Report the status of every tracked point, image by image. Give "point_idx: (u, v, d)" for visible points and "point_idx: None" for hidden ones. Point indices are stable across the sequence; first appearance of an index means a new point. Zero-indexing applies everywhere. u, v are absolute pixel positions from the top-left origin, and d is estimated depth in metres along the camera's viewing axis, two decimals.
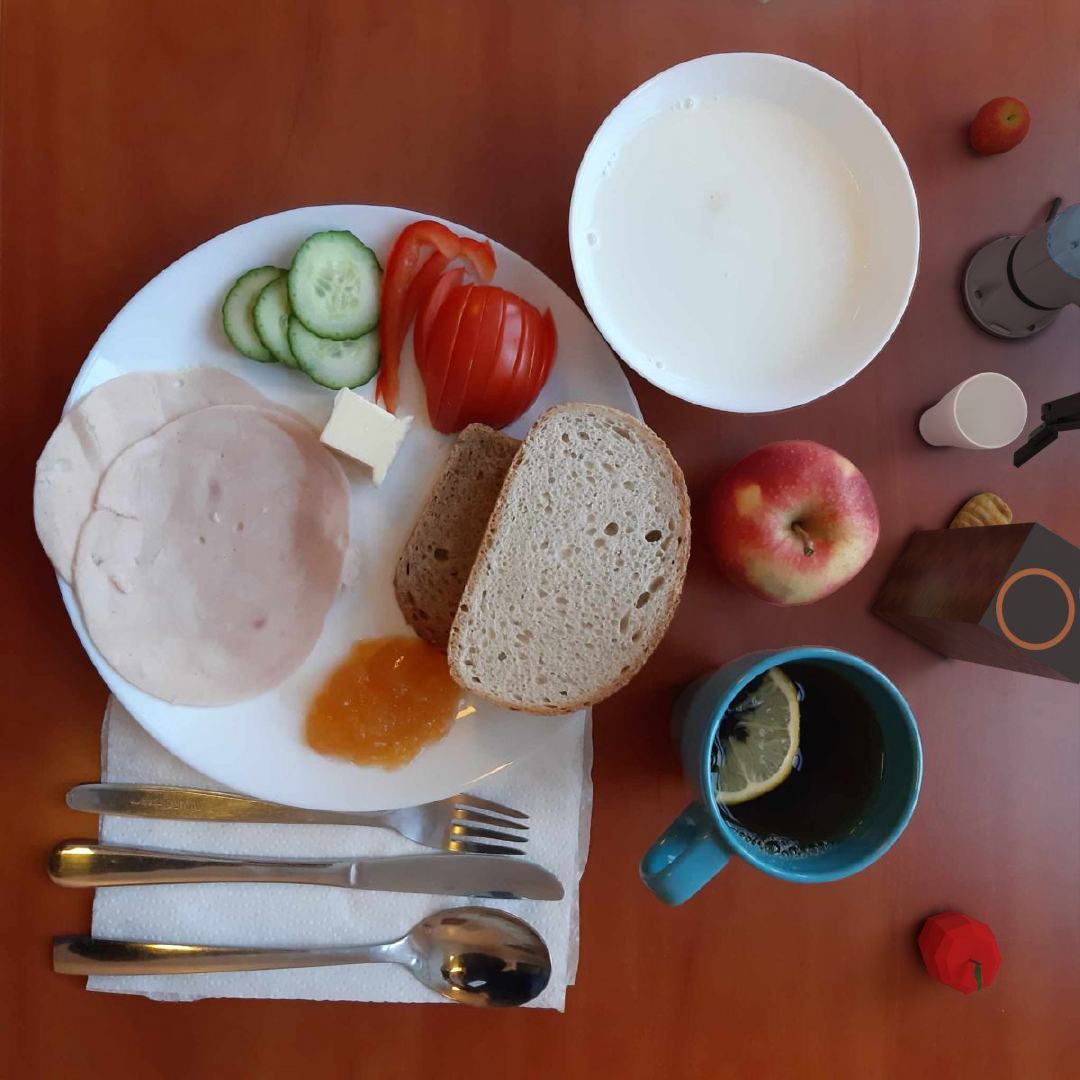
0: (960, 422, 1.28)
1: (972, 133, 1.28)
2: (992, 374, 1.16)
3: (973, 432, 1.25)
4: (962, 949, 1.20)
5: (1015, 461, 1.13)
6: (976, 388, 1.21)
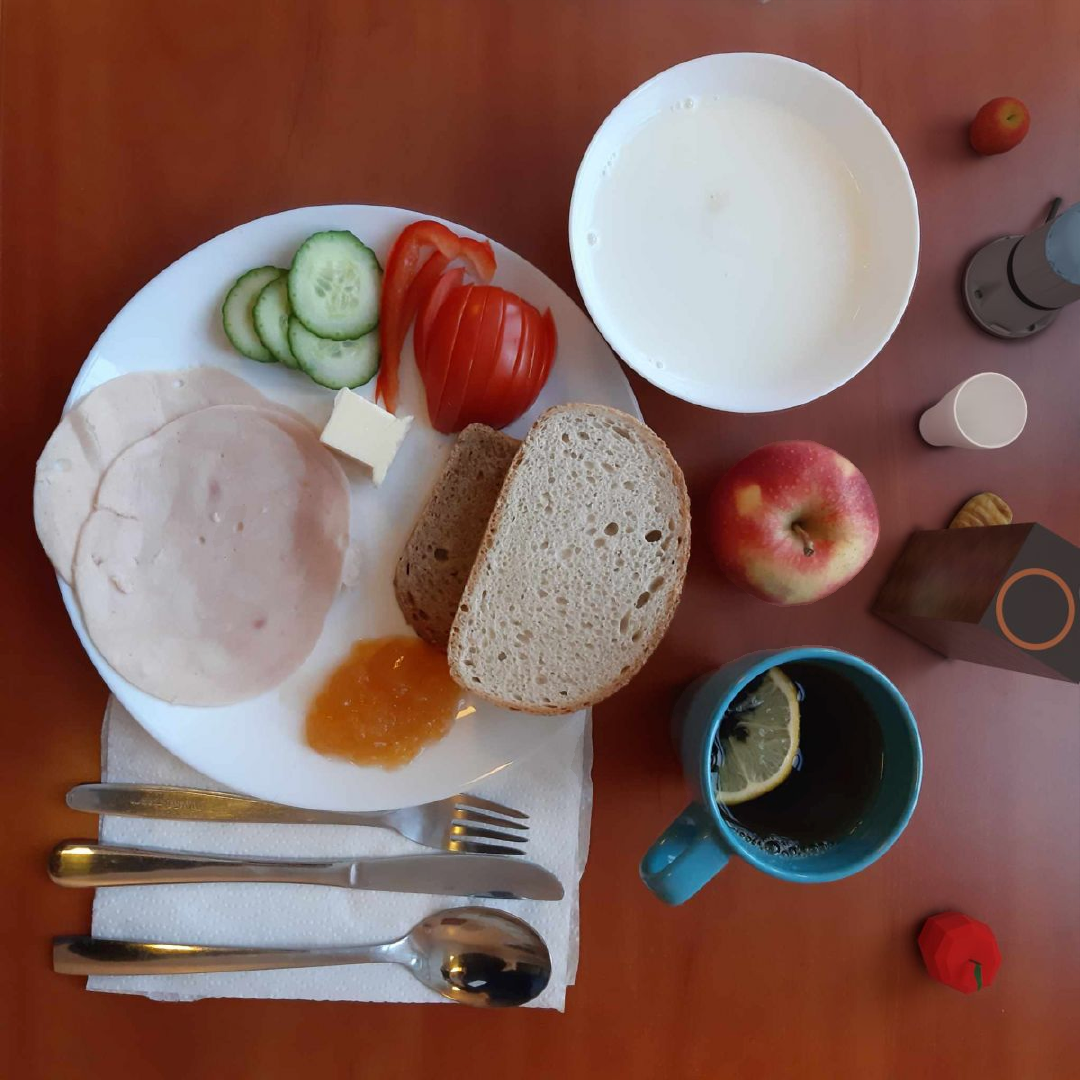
0: (960, 422, 1.28)
1: (972, 133, 1.28)
2: (992, 374, 1.16)
3: (973, 432, 1.25)
4: (962, 949, 1.20)
5: None
6: (976, 388, 1.21)
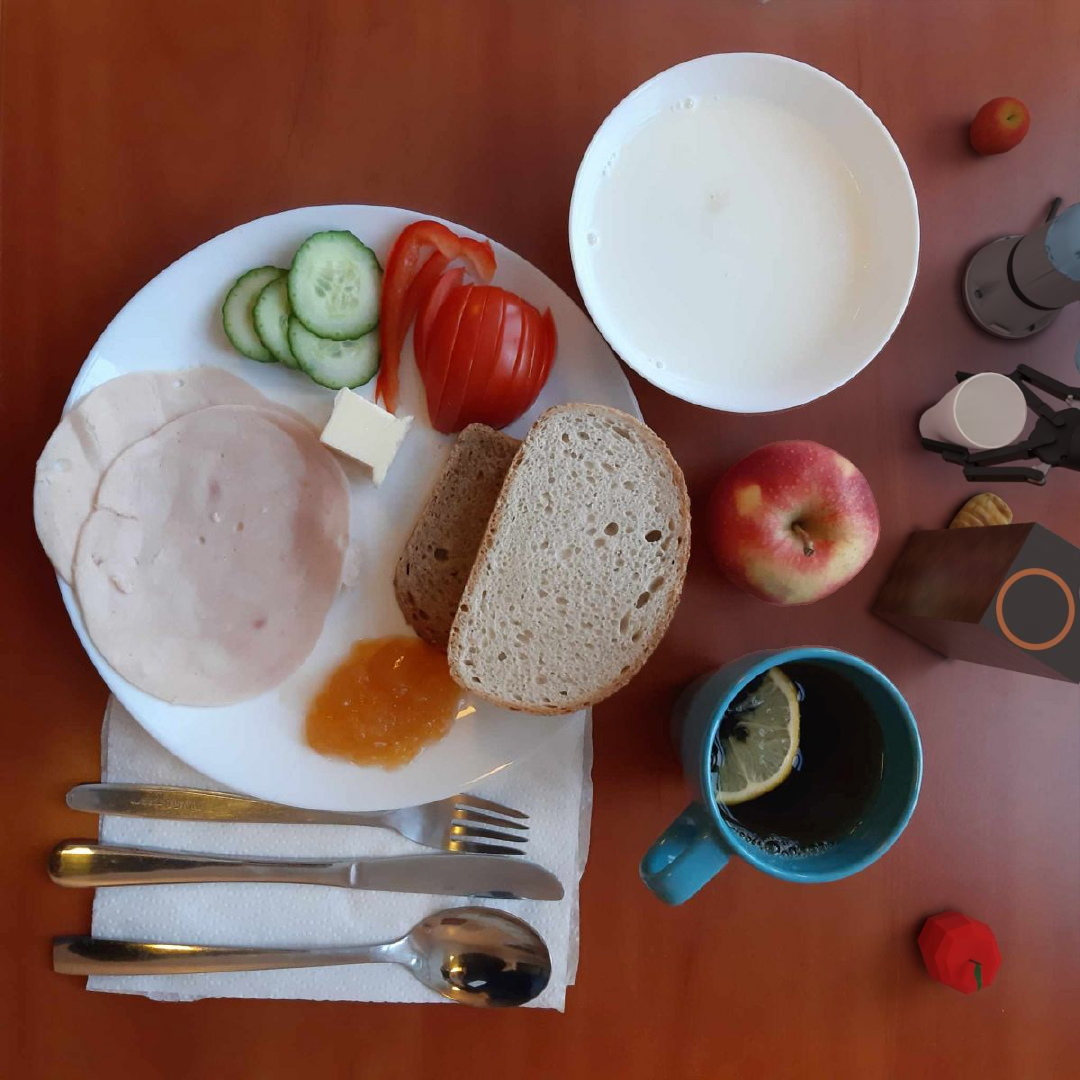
0: (960, 422, 1.28)
1: (972, 133, 1.28)
2: (992, 374, 1.16)
3: (973, 432, 1.25)
4: (962, 949, 1.20)
5: (926, 449, 1.24)
6: (976, 388, 1.21)
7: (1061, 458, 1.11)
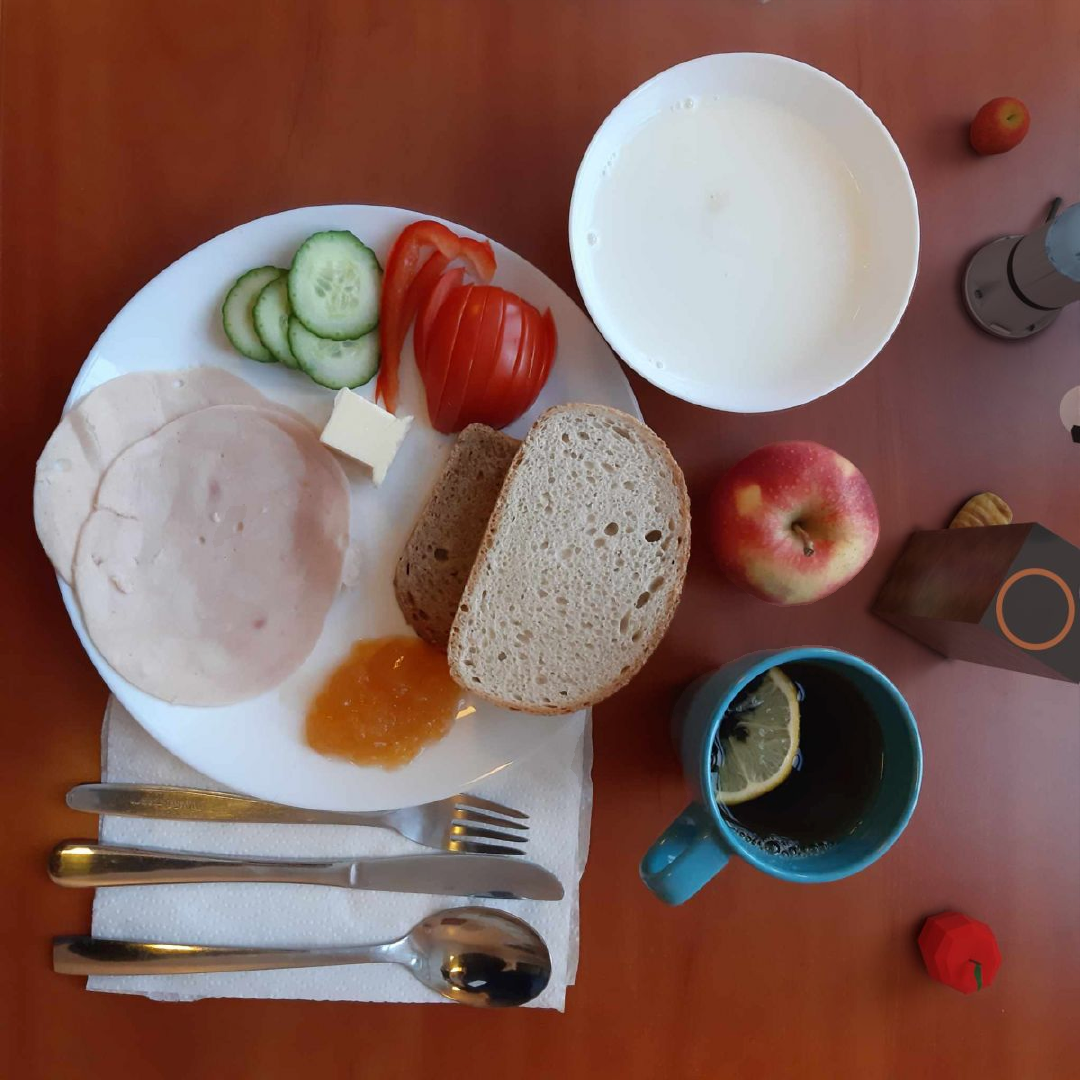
0: None
1: (972, 133, 1.28)
2: None
3: None
4: (962, 949, 1.20)
5: (1076, 441, 0.93)
6: None
7: None
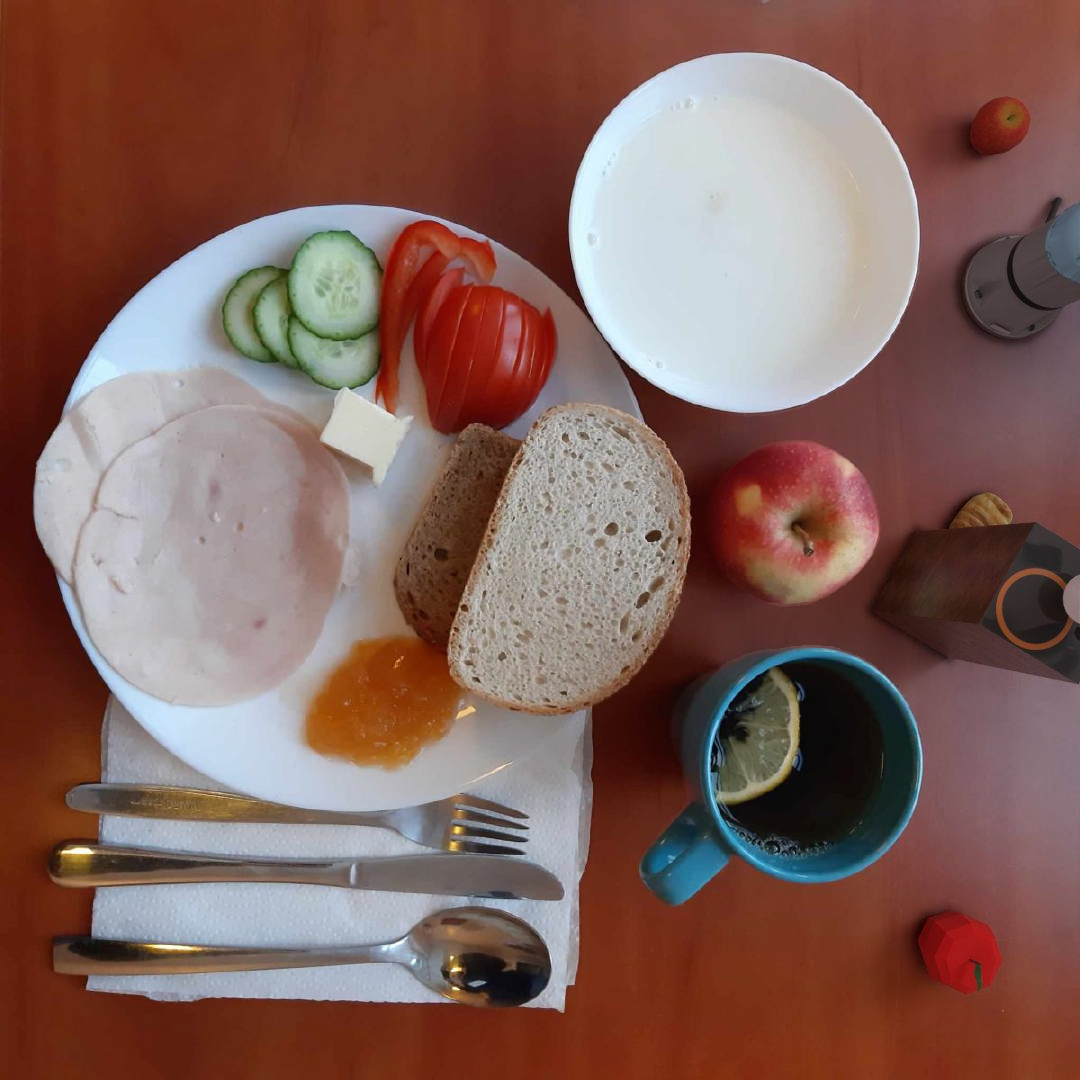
0: None
1: (972, 133, 1.28)
2: None
3: None
4: (962, 949, 1.20)
5: (1079, 639, 0.93)
6: None
7: None
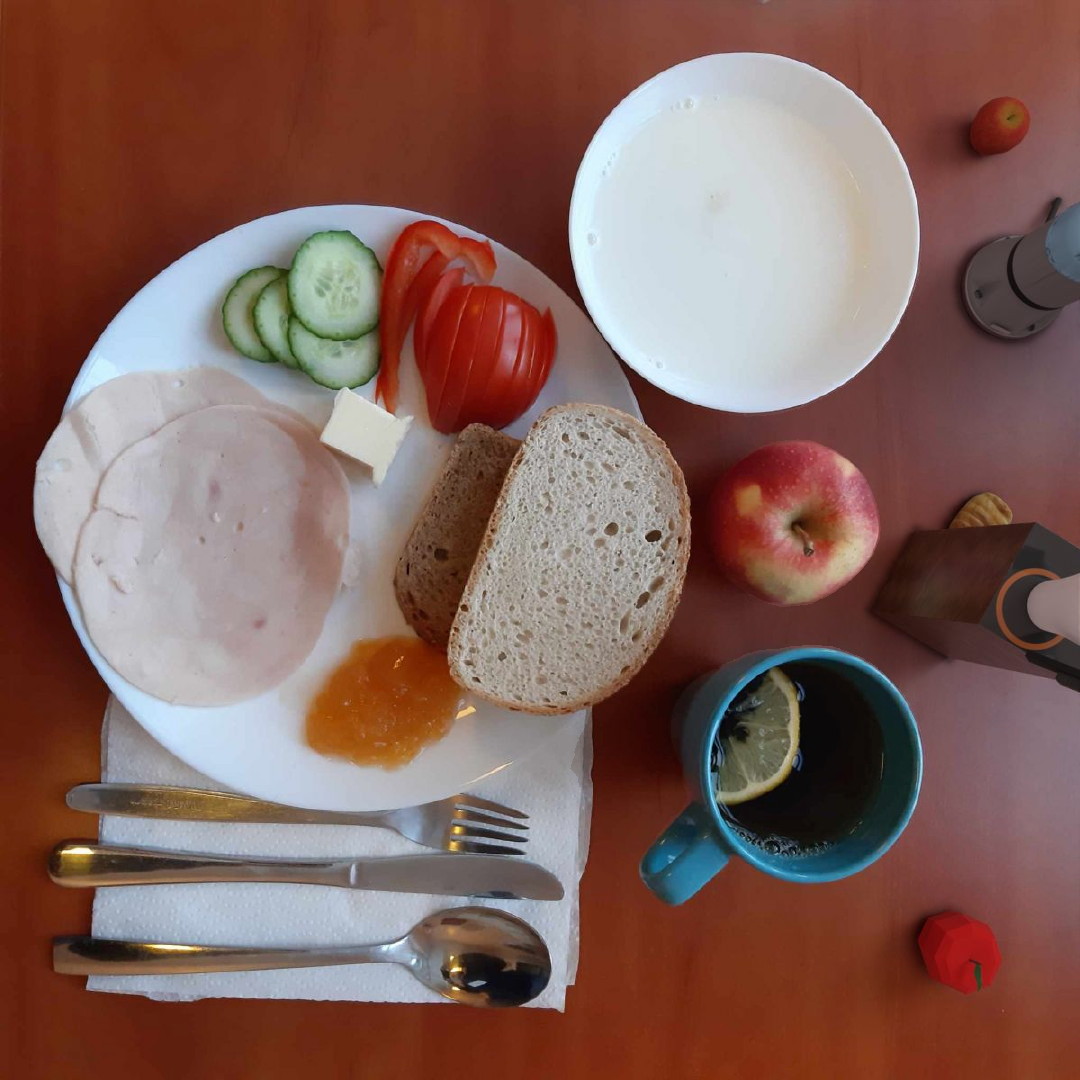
0: None
1: (972, 133, 1.28)
2: None
3: None
4: (962, 949, 1.20)
5: (1031, 662, 0.94)
6: None
7: None
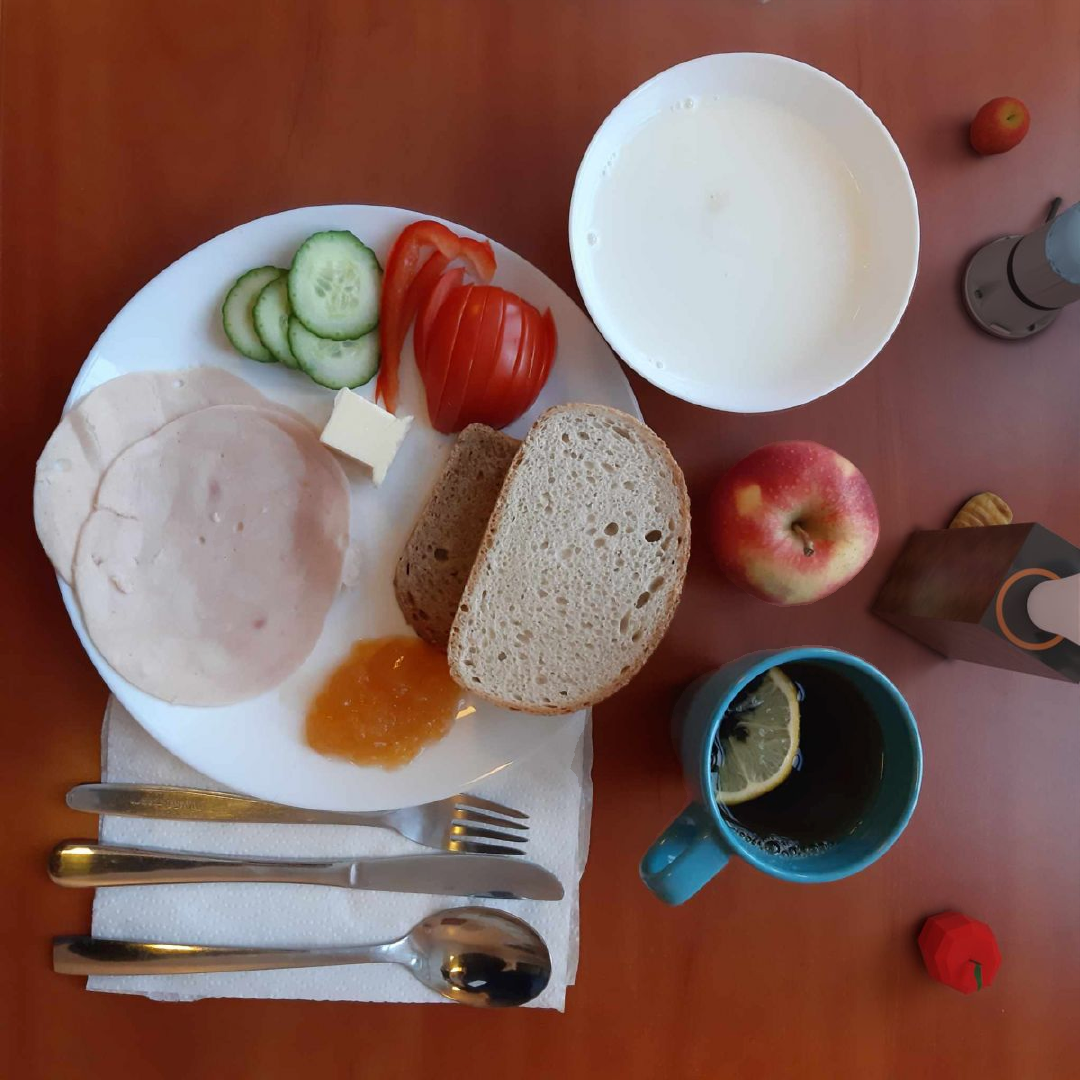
0: None
1: (972, 133, 1.28)
2: None
3: None
4: (962, 949, 1.20)
5: None
6: None
7: None
